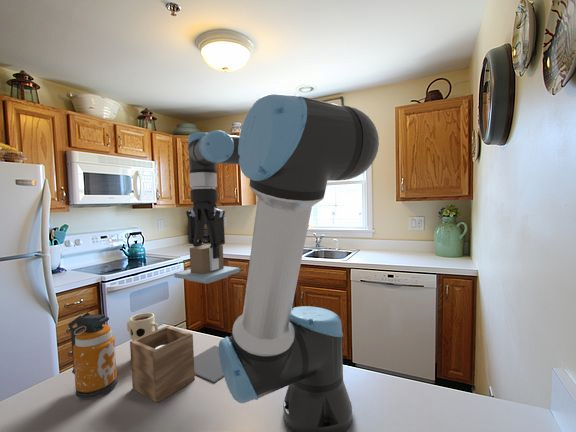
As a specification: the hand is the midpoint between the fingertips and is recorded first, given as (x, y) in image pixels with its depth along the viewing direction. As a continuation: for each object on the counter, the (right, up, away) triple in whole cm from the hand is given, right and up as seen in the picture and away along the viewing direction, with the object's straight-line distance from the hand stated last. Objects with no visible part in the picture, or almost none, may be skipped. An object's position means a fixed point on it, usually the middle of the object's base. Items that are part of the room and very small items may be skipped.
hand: (207, 268), depth 85 cm
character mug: (-22, -29, +7) cm, 37 cm away
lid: (0, -3, 0) cm, 3 cm away
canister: (-27, -30, -9) cm, 42 cm away
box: (-9, -29, -7) cm, 32 cm away
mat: (+2, -29, +2) cm, 29 cm away
